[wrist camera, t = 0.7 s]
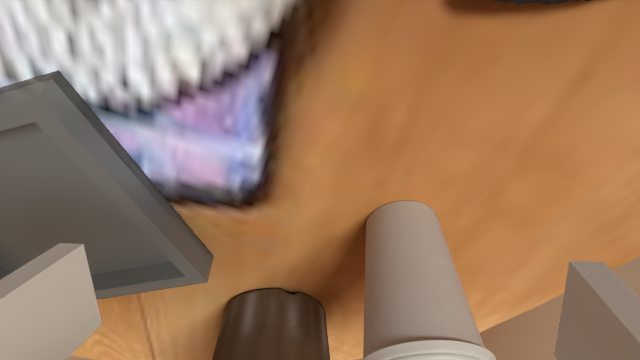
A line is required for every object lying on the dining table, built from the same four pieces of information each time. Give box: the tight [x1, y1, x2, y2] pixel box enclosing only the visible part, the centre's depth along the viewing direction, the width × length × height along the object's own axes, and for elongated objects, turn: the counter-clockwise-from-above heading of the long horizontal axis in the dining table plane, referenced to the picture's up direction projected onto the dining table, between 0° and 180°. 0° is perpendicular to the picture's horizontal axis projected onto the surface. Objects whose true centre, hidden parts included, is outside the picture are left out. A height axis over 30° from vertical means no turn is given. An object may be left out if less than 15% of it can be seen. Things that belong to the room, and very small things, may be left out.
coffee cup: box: [363, 201, 496, 360], centre depth 33 cm, size 10×10×15 cm
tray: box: [0, 71, 213, 300], centre depth 36 cm, size 22×22×3 cm
